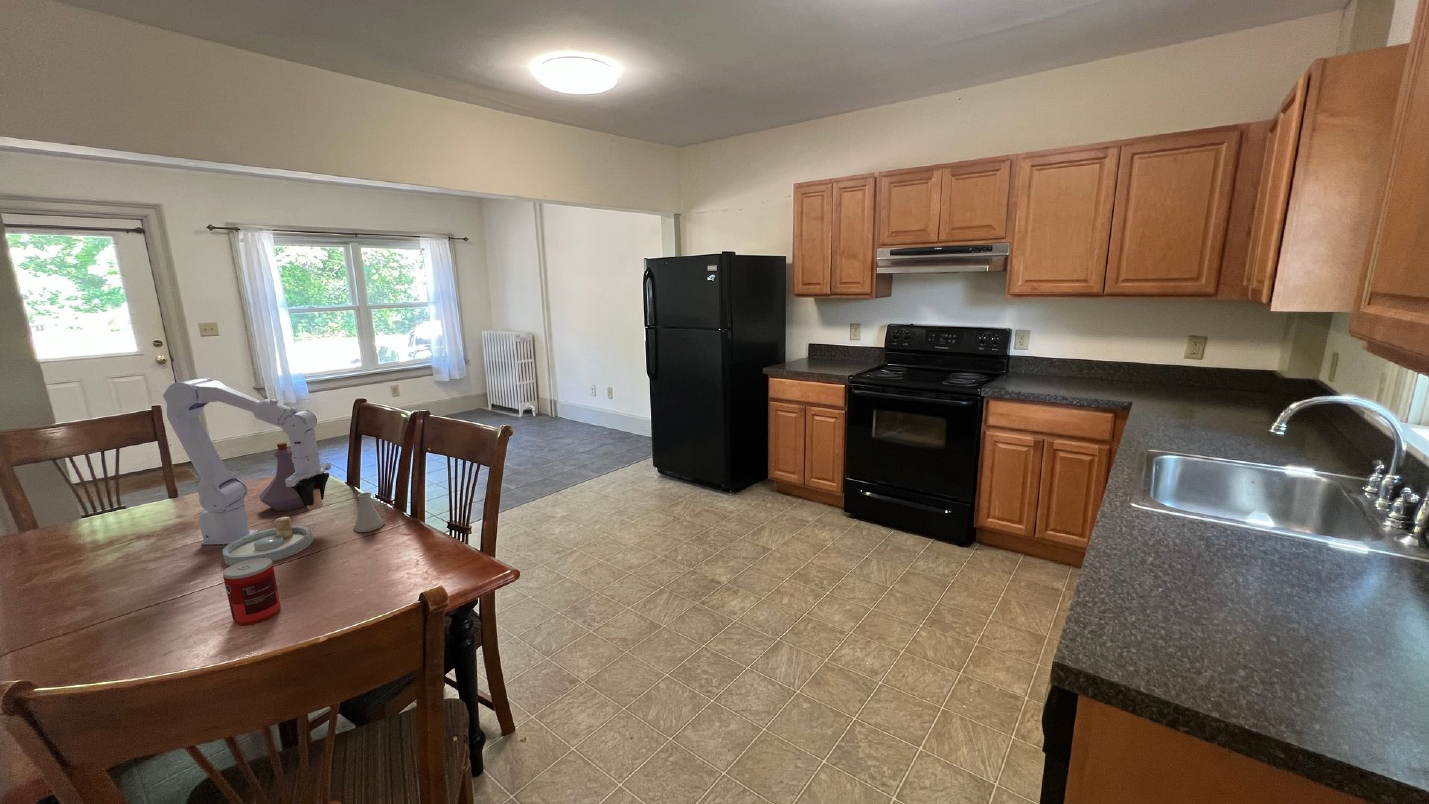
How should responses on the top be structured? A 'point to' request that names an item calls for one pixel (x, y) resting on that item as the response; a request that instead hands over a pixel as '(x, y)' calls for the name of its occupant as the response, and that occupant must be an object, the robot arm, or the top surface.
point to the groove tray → (267, 545)
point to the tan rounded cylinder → (283, 527)
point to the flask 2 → (367, 515)
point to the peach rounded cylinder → (316, 499)
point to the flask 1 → (282, 483)
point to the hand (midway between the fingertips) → (314, 502)
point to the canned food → (252, 591)
